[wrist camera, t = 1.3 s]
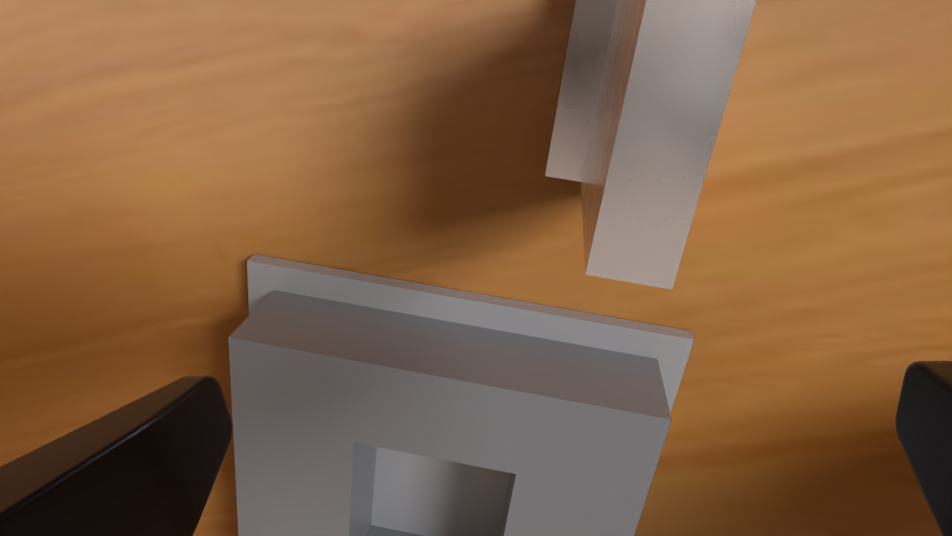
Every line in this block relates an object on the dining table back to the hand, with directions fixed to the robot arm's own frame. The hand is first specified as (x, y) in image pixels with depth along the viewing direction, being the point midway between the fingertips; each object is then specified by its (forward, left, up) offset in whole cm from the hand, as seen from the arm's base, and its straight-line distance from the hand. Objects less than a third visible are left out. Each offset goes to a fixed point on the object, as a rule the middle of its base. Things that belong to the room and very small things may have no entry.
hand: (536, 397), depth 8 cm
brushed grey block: (-2, -3, -13) cm, 13 cm away
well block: (+2, +14, -13) cm, 19 cm away
